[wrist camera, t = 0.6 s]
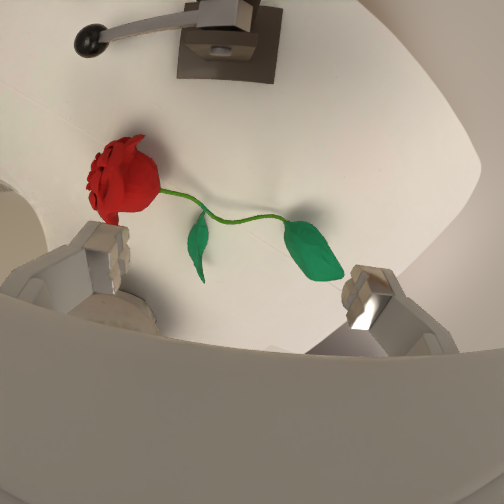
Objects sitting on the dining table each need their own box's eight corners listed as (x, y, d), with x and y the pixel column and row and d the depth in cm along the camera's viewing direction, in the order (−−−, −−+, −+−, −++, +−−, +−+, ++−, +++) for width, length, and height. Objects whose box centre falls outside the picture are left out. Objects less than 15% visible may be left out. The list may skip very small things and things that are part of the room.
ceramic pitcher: (202, 290, 43) (189, 448, 21) (181, 367, 51) (170, 488, 29) (71, 254, 38) (-14, 376, 16) (77, 338, 47) (33, 446, 25)
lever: (93, 60, 21) (65, 61, 18) (96, 28, 19) (69, 28, 16) (252, 43, 16) (229, 33, 13) (257, 0, 14) (235, -16, 11)
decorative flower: (277, 300, 43) (286, 351, 35) (90, 212, 34) (55, 253, 26) (337, 229, 37) (363, 275, 29) (127, 114, 27) (87, 129, 19)
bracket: (178, 78, 26) (137, 75, 14) (187, 5, 21) (154, -42, 10) (272, 84, 27) (298, 83, 15) (281, 11, 22) (312, -34, 11)
